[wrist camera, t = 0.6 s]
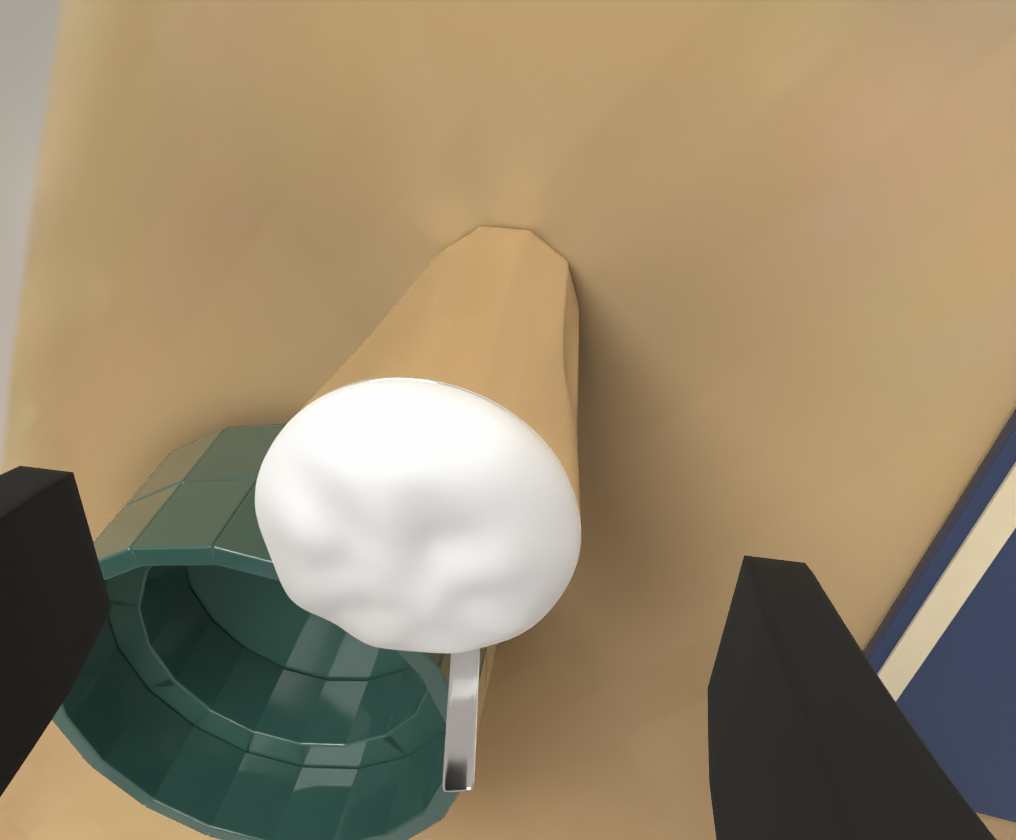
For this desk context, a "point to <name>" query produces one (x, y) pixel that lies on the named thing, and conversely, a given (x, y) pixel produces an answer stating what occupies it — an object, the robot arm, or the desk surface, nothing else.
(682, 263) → the desk surface
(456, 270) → the milkshake
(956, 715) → the blue notebook
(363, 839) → the bowl
